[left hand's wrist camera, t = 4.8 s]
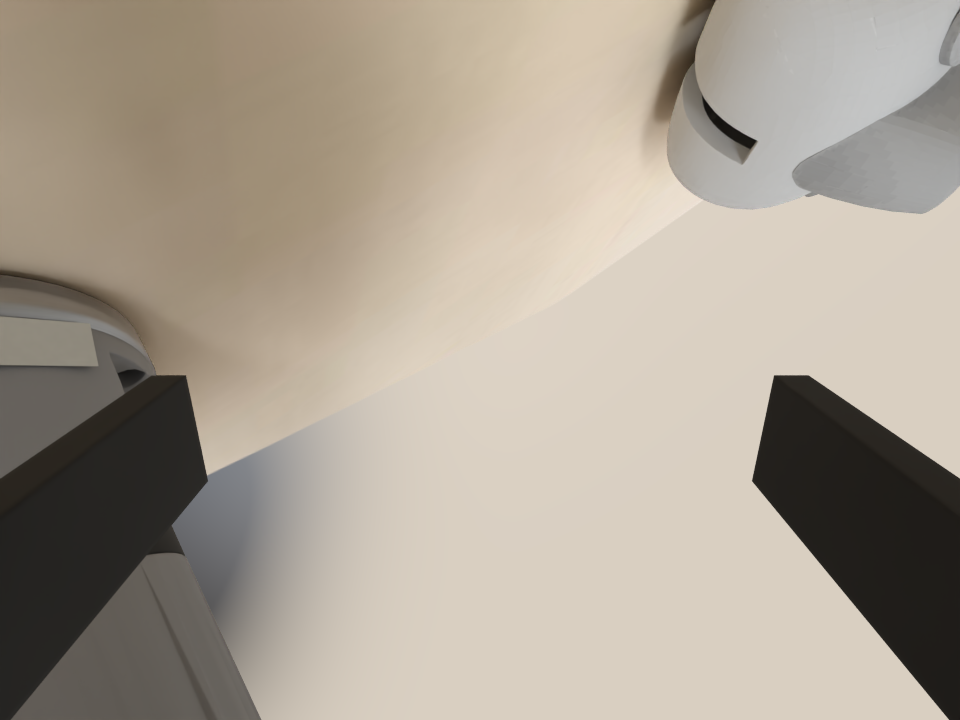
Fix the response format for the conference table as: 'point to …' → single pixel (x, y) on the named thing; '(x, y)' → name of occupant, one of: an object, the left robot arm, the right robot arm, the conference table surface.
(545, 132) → the conference table surface
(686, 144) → the projector
